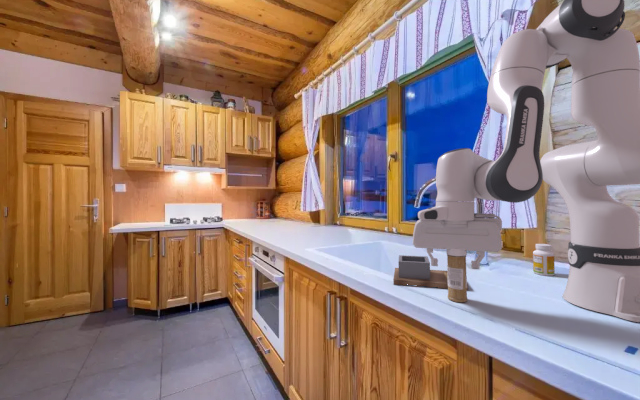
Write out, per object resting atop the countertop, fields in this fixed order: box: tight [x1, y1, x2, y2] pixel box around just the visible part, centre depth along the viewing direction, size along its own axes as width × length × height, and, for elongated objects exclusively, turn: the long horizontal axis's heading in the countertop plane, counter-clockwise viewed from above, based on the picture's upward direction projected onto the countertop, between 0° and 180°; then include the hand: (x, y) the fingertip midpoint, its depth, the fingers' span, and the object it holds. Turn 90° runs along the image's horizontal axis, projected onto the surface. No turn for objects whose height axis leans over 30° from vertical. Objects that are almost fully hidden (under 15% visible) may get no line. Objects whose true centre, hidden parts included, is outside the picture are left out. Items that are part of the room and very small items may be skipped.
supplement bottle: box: [532, 243, 555, 277], centre depth 88 cm, size 5×5×10 cm
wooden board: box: [393, 267, 469, 291], centre depth 84 cm, size 20×14×2 cm
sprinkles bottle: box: [446, 248, 468, 303], centre depth 68 cm, size 5×5×13 cm
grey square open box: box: [398, 254, 431, 280], centre depth 85 cm, size 9×9×5 cm
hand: (454, 267), depth 68 cm, fingers open, 8 cm apart
